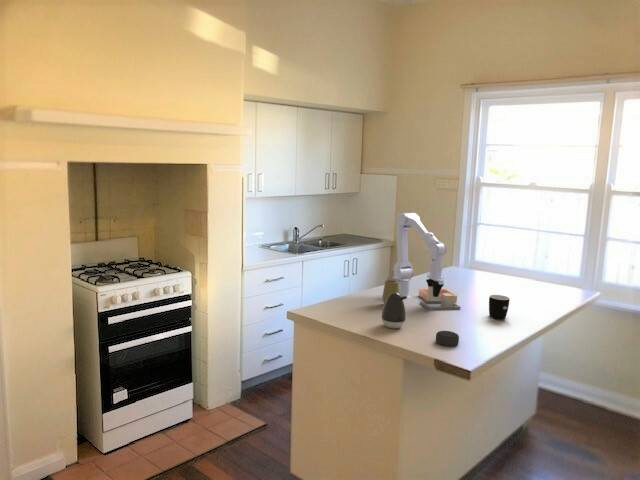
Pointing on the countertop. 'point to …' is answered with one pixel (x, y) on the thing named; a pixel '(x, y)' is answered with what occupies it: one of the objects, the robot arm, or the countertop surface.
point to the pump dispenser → (394, 311)
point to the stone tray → (438, 305)
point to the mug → (498, 306)
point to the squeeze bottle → (390, 286)
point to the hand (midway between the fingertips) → (433, 295)
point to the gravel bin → (424, 294)
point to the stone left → (430, 294)
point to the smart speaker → (447, 338)
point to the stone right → (447, 300)
